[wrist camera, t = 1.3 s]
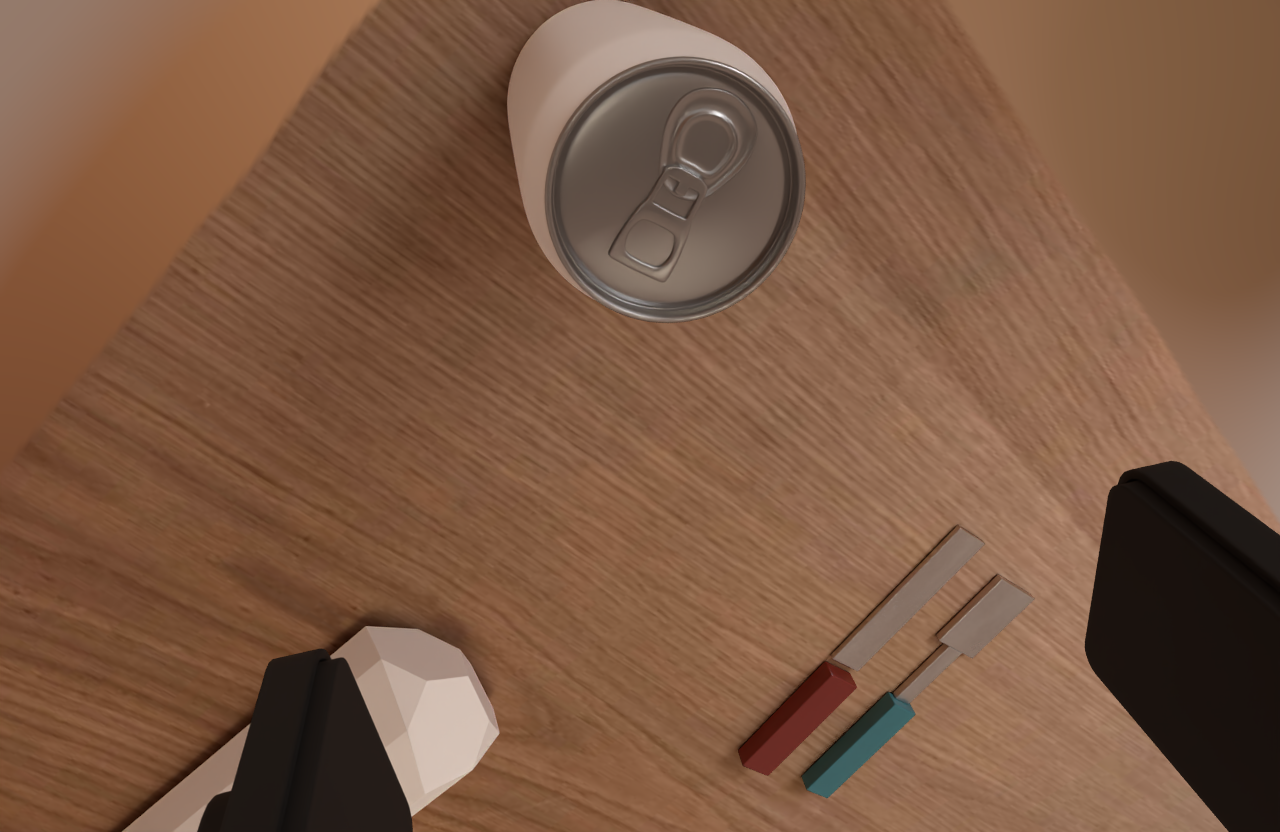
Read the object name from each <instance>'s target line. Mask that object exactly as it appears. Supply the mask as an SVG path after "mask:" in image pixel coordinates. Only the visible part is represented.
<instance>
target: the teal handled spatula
mask: <svg viewBox="0 0 1280 832" xmlns="http://www.w3.org/2000/svg"><path fill="white" fill-rule="evenodd" d="M1033 600H1034V598H1033V596H1032V595H1031V594H1029V593H1028V592H1026V591H1024V590H1023V589H1021V588H1020V587H1018V586H1016V585H1015V584H1013V583H1011V582H1010V581H1008V580H1007V579H1005V578H1003V577H1002V576H1000V575H997V576H996V577H995V578H994V579H993V580H992V581H991V582H990V583H989V584H988V585H987V586H986V587H985V588H984V589H983V590H982V591H981V592H980V593H978V594H977V595H976V596H975V597H974V598H973V599H972V600H971V601H970V602H969V603H968V604H967V605H966V606H965V607H964V608H963V609H962V610H961V611H960V612H959V613H958V614H957V615H956V616H955V617H954V618H953V619H952V620H951V621H950V622H949V623H948V624H947V625H946V626H945V627H944V628H943V629H942V630H941V631H940V632H939V633H938V634H937V635H936V637H937V638H938V640H939V641H941V642H943V643H944V644H943V645H942V646H941V647H940V648H939V649H937V650H936V651H935V652H934V653H933V654H932V655H931V656H930V657H929V658H928V659H927V660H926V661H925V662H924V663H923V664H922V665H921V666H920V667H919V668H918V669H917V670H916V671H915V672H914V673H913V674H912V675H911V676H910V677H909V678H908V679H907V680H906V681H905V682H904V683H903V684H901V685H900V686H899V687H898V688H897V689H896V690H895V691H894V692H893V694H892V693H890V692H887V693H886V694H885V695H884V696H883V697H882V698H881V699H880V700H879V701H878V702H877V703H876V704H875V705H874V706H873V707H872V708H871V709H870V710H869V711H868V712H867V713H866V714H865V715H864V716H863V717H862V718H861V719H860V720H859V721H858V722H857V723H856V724H855V725H854V726H853V727H852V728H851V729H850V730H849V731H847V732H846V733H845V734H844V735H843V736H842V737H841V738H840V739H839V740H838V741H837V742H836V743H835V744H834V745H833V746H832V747H831V748H830V749H829V750H828V751H827V752H826V753H825V754H824V755H823V756H822V757H821V758H820V759H819V760H818V761H817V762H816V763H815V764H814V765H813V766H812V767H811V768H810V769H809V770H807V771H806V772H805V773H804V774H803V775H802V779H803V782H804V784H805V787H806V789H807V790H808V791H810V792H813V793H815V794H818V795H820V796H823V797H825V798H828V797H829V796H830V795H831V794H833V793H834V792H835V791H836V790H837V789H838V788H839V787H840V786H841V785H842V784H843V783H844V782H845V781H846V780H847V779H848V778H849V777H850V776H851V775H853V774H854V773H855V772H856V771H857V770H858V769H859V768H860V767H861V766H862V765H863V764H864V763H865V762H866V761H867V760H868V759H869V758H870V757H871V756H873V755H874V754H875V753H876V752H877V751H878V750H879V749H880V748H881V747H882V746H883V745H884V744H885V743H886V742H887V741H888V740H889V739H890V738H892V737H893V736H894V735H895V734H896V733H897V732H898V731H899V730H900V729H901V728H902V727H903V726H904V725H905V724H906V723H907V722H908V721H909V720H910V719H912V718H913V717H914V716H915V712H914V710H913V709H912V707H911V705H910V703H911V702H912V701H913V700H914V699H915V698H916V697H917V696H918V695H919V694H920V693H921V692H922V691H923V690H924V689H925V688H926V687H927V686H928V685H929V684H930V683H931V682H932V681H934V680H935V679H936V678H937V677H938V676H939V675H940V674H941V673H942V672H943V671H944V670H945V669H946V668H947V667H948V666H949V665H950V664H951V663H952V662H953V661H954V660H955V659H956V658H958V657H959V656H960V655H961V653H963V654H965V655H967V656H969V657H970V658H973V657H974V656H975V655H977V654H978V653H979V652H980V651H981V650H982V649H983V648H984V647H985V646H986V645H987V644H988V643H989V642H990V641H991V640H992V639H993V638H994V637H995V636H997V635H998V634H999V633H1000V632H1001V631H1002V630H1003V629H1004V628H1005V627H1006V626H1007V625H1008V624H1009V623H1010V622H1011V621H1012V620H1013V619H1014V618H1015V617H1016V616H1018V615H1019V614H1020V613H1021V612H1022V611H1023V610H1024V609H1025V608H1026V607H1027V606H1028V605H1029V604H1030V603H1031V602H1032V601H1033Z"/></svg>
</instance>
